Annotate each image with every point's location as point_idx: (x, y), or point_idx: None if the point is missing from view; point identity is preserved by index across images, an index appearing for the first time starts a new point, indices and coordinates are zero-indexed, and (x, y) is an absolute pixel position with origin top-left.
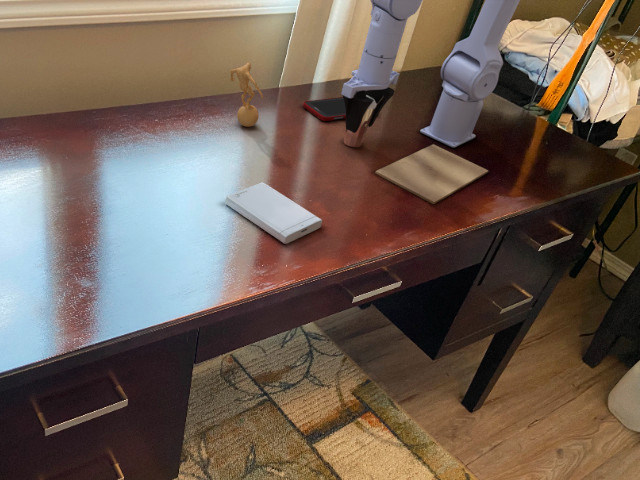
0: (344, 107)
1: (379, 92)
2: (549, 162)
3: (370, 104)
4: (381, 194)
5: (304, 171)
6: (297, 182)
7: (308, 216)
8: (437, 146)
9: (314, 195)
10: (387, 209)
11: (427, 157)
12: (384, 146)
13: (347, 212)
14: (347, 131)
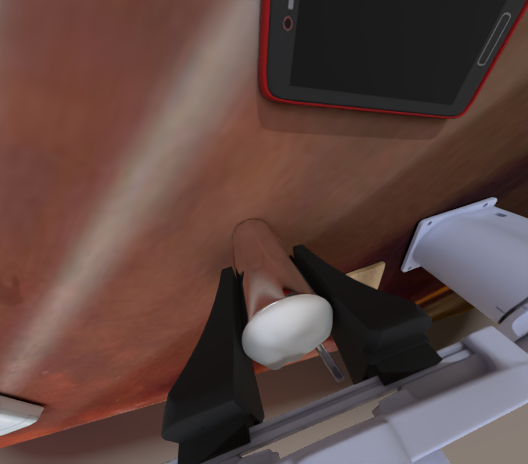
0: (408, 39)
1: (354, 365)
2: (444, 297)
3: (258, 393)
4: (191, 350)
5: (59, 313)
6: (26, 340)
7: (6, 425)
8: (383, 269)
9: (59, 362)
10: (177, 369)
11: None
12: (311, 251)
13: (109, 380)
14: (234, 256)
